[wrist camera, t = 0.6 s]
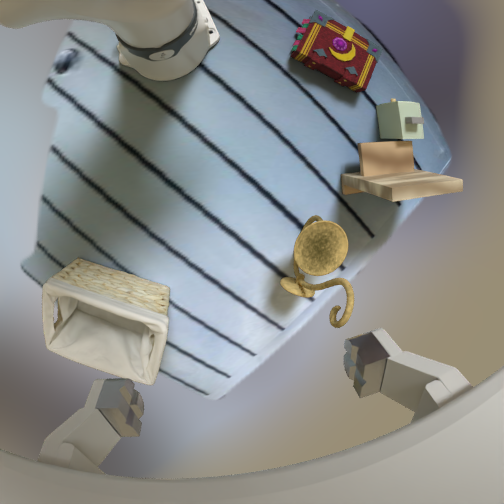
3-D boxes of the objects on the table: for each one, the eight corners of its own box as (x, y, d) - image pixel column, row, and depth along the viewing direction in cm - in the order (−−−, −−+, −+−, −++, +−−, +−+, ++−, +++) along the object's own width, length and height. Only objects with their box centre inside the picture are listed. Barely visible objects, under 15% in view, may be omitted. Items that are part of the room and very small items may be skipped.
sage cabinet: (375, 101, 48) (403, 95, 38) (395, 101, 48) (424, 97, 39) (380, 138, 51) (409, 139, 41) (400, 137, 51) (430, 139, 42)
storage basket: (179, 284, 56) (170, 326, 43) (163, 343, 61) (154, 390, 47) (74, 249, 51) (39, 280, 37) (69, 312, 55) (43, 350, 42)
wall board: (337, 143, 50) (388, 145, 33) (402, 140, 51) (461, 144, 34) (342, 193, 54) (392, 215, 37) (405, 185, 55) (462, 202, 38)
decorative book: (355, 94, 47) (367, 91, 43) (282, 55, 43) (289, 47, 39) (372, 54, 44) (384, 48, 39) (303, 15, 40) (311, 5, 36)
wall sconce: (308, 277, 59) (360, 352, 36) (266, 267, 57) (299, 346, 34) (332, 214, 55) (405, 262, 32) (288, 201, 53) (344, 243, 30)
